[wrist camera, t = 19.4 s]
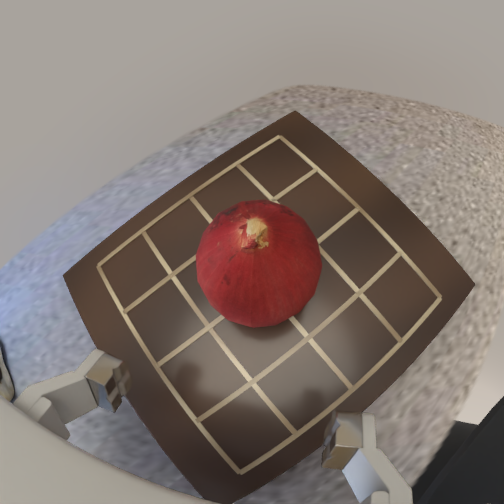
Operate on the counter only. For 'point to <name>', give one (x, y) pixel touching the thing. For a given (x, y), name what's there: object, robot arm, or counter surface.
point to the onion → (258, 263)
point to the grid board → (269, 337)
